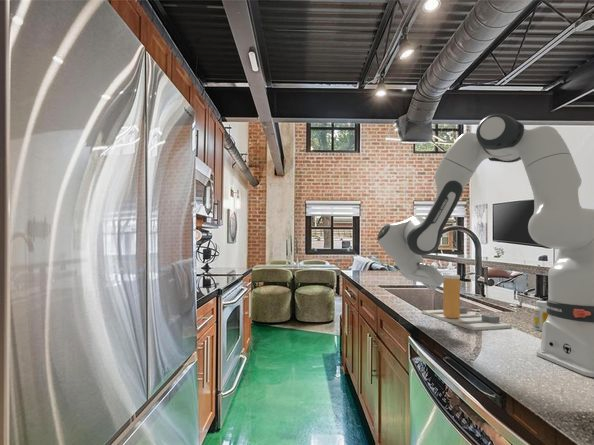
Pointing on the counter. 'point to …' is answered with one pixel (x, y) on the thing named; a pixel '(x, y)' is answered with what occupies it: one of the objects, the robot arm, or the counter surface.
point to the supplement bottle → (540, 315)
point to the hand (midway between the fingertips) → (433, 288)
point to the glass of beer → (451, 296)
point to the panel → (470, 320)
